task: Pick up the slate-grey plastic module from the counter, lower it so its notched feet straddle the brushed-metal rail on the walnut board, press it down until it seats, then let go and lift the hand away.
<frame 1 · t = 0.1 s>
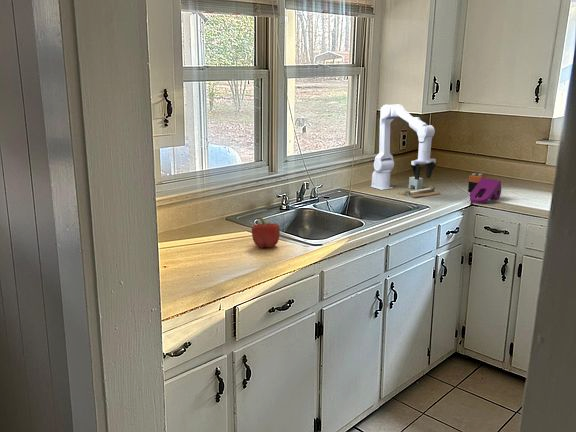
hand: (422, 178, 284), 10 cm above the worktop, tool pointing down, fingers open, 7 cm apart
vegetable: (265, 246, 213), on the worktop
battery: (475, 193, 302), on the worktop
mounting bracket: (483, 201, 286), on the worktop
rail mount: (419, 194, 297), on the worktop
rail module: (415, 188, 308), on the worktop
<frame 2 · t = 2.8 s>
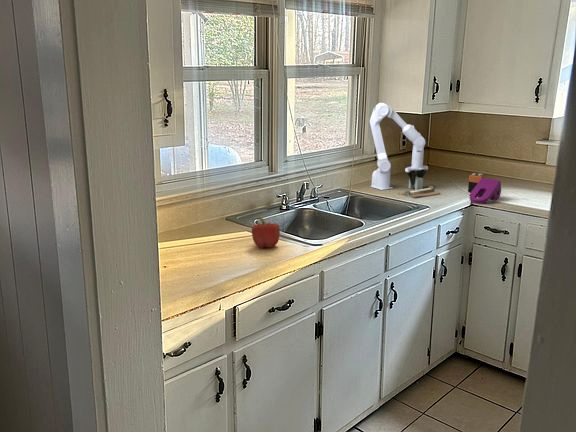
hand: (415, 184, 308), 2 cm above the worktop, tool pointing down, fingers closed on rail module, 4 cm apart
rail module: (415, 188, 308), on the worktop, touching gripper
everything else where it was.
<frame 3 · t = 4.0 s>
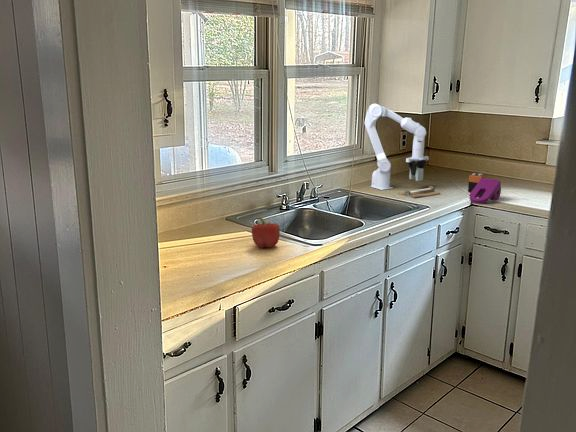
hand: (416, 174, 306), 8 cm above the worktop, tool pointing down, fingers closed on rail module, 4 cm apart
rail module: (415, 179, 307), point 5 cm above the worktop, touching gripper
everything else where it was.
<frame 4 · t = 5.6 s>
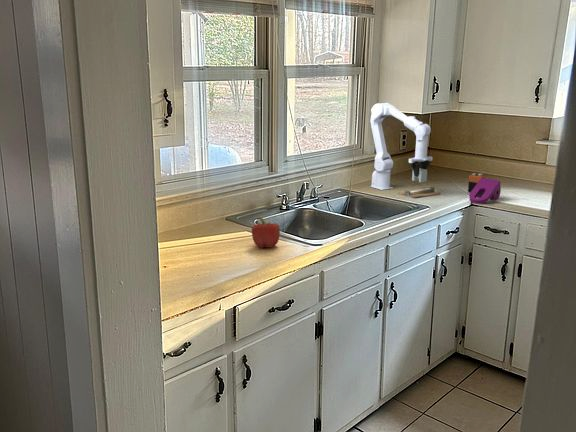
hand: (419, 176, 294), 9 cm above the worktop, tool pointing down, fingers closed on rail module, 4 cm apart
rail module: (419, 180, 294), point 7 cm above the worktop, touching gripper
everything else where it was.
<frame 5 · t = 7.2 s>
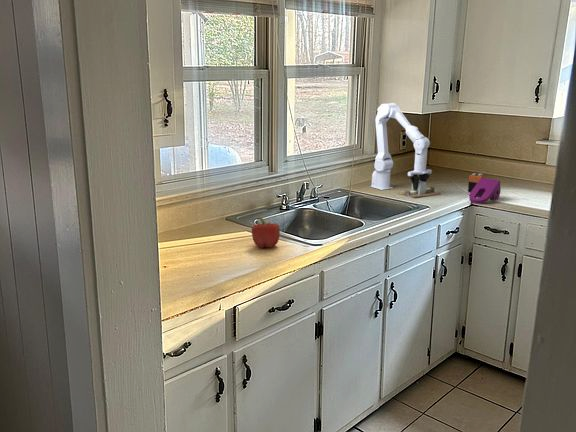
hand: (418, 188, 295), 3 cm above the worktop, tool pointing down, fingers closed on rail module, 4 cm apart
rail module: (418, 193, 296), point 1 cm above the worktop, touching gripper, rail mount
everything else where it was.
when the fingers open (3 cm above the worktop, at t = 8.5 s): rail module stays where it is, resting on rail mount.
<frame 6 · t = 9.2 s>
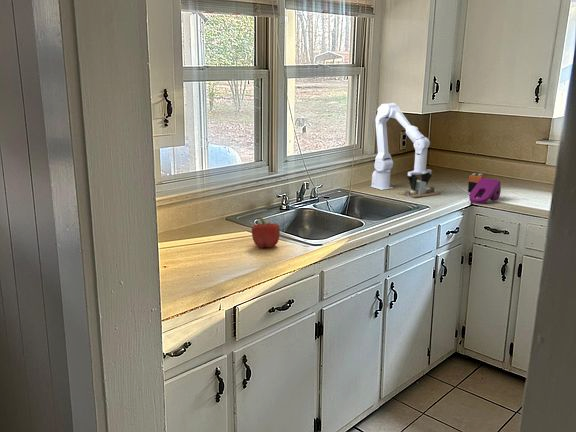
hand: (418, 188, 295), 3 cm above the worktop, tool pointing down, fingers open, 7 cm apart
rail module: (418, 193, 296), point 1 cm above the worktop, touching rail mount
everything else where it was.
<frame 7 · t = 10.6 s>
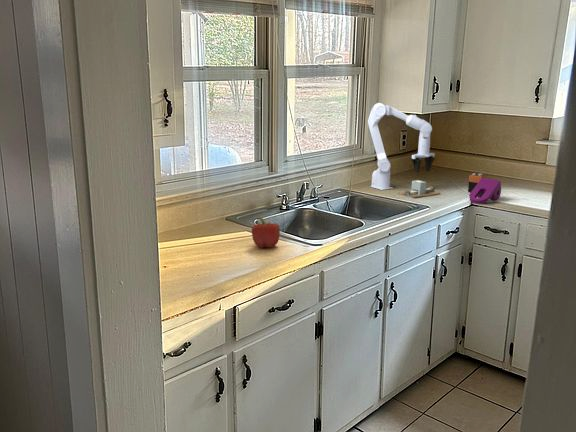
hand: (422, 171, 305), 9 cm above the worktop, tool pointing down, fingers open, 7 cm apart
nothing on the worktop moved.
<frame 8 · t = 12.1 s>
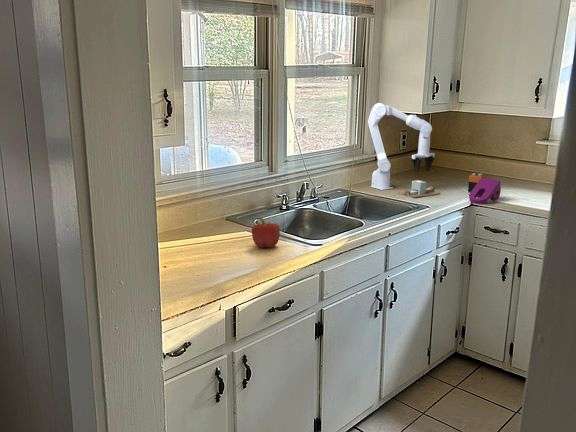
hand: (422, 171, 305), 9 cm above the worktop, tool pointing down, fingers open, 7 cm apart
nothing on the worktop moved.
at the end: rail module 0.0 cm from the target spot, point 0.6 cm above the worktop; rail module tilted 0°; the gripper is holding nothing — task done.
